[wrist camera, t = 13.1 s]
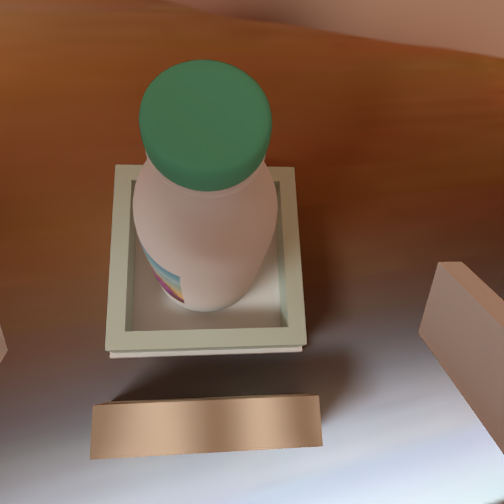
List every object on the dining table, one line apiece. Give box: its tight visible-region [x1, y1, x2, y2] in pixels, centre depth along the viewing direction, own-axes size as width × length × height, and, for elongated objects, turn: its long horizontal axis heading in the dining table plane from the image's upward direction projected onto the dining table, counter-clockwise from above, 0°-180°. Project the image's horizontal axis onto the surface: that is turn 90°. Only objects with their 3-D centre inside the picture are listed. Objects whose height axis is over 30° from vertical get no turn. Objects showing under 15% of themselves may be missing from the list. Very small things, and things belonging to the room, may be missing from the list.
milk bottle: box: [133, 60, 278, 312], centre depth 24 cm, size 8×8×20 cm
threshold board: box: [90, 393, 323, 459], centre depth 29 cm, size 14×3×5 cm, turn 92°
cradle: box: [105, 165, 307, 358], centre depth 33 cm, size 14×14×4 cm
